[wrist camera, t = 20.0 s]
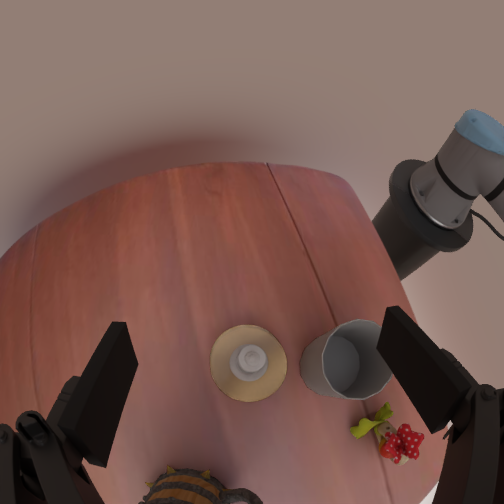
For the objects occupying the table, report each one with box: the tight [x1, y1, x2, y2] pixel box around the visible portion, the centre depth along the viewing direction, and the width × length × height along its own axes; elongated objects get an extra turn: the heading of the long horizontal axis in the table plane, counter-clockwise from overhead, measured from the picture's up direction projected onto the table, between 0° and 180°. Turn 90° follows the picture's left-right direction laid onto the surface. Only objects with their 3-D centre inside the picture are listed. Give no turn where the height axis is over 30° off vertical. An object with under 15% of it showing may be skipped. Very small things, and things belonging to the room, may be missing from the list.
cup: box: [300, 319, 393, 400], centre depth 29 cm, size 8×8×10 cm
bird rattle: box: [350, 402, 424, 465], centre depth 24 cm, size 6×11×9 cm
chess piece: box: [229, 344, 268, 381], centre depth 26 cm, size 4×4×10 cm
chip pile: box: [210, 325, 287, 402], centre depth 32 cm, size 10×9×3 cm
